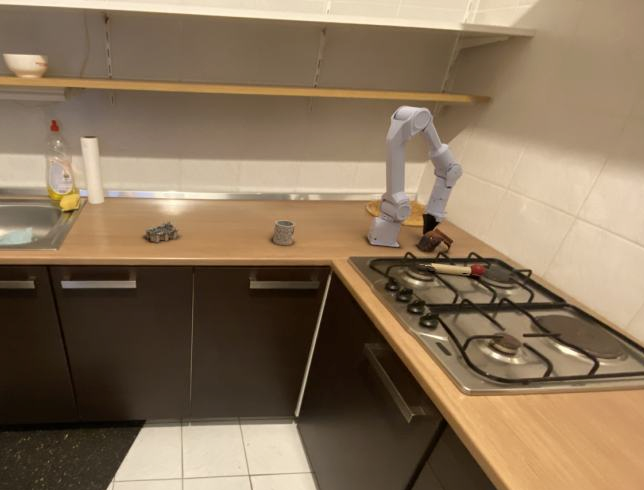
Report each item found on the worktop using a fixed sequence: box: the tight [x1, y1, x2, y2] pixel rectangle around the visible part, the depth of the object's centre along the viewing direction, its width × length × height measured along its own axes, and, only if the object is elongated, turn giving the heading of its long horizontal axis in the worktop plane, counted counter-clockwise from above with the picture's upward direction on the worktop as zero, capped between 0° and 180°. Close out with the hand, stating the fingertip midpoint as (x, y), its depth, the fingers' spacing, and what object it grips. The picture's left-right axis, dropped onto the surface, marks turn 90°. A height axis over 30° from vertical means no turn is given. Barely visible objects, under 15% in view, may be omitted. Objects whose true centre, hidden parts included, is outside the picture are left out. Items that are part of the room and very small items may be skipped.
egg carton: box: [144, 221, 180, 243], centre depth 133 cm, size 11×8×4 cm
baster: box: [419, 262, 486, 278], centre depth 116 cm, size 18×4×4 cm, turn 79°
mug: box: [272, 219, 296, 246], centre depth 135 cm, size 10×7×7 cm, turn 9°
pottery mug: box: [416, 227, 454, 253], centre depth 132 cm, size 12×10×8 cm
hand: (426, 234), depth 140 cm, fingers closed
